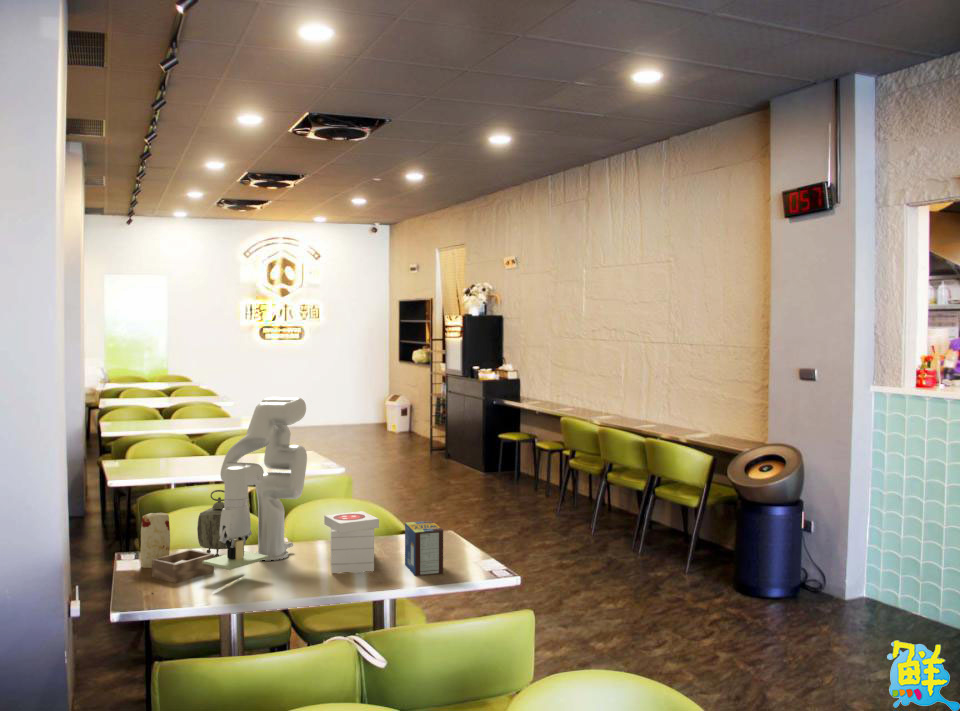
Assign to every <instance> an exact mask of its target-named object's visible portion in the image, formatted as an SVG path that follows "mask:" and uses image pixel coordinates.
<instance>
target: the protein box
mask: <svg viewBox="0 0 960 711" xmlns="http://www.w3.org/2000/svg"><path fill="white" fill-rule="evenodd" d="M404 532H405V533H404V565H405V566H406V567H407V569H408V570H409V569H410V570H409V571H410V572H411V573H412V574H413V575H414V576H415V577H417V576H418V577H420V576H430V575H439V574H444V529H443V528H441V526H439V525H438V524H437V523H435V521H432V520H425V521H423V520H422V521H411V522H405V523H404Z"/></svg>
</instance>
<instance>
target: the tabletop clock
mask: <svg viewBox="0 0 960 711" xmlns="http://www.w3.org/2000/svg"><path fill="white" fill-rule="evenodd" d="M219 492H220V493H223V494H225V489H224V490H223V489H216V490H213V491H212V492H211V493H210V498H211V499H212V501H215V503H214V504H213V505H212V506H211V507H210V508H208V509H206V510H204V511H201V512H200V513H199V516H198V519H197V529H196V530H197V539H198V543H199V547H202V548H204V549H207V550H206V553H211V550H216V553H215V554H214V558H215V557H219V556H220V554H219V550H228V547H226V545H225V544H224V543H222V542H220V541H219V540H220V533H219V532H220V519H221V513H222V509H223V508H224V498H223V499H222V498H221V497H220V496H219V497H217V498H214V497H213V496H212V495H213V494H214V493H219ZM235 539H237V538H235ZM211 554H212V553H211Z"/></svg>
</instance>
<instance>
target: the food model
mask: <svg viewBox="0 0 960 711" xmlns="http://www.w3.org/2000/svg"><path fill="white" fill-rule="evenodd" d="M170 527H171V526H170V516H169V514H168V513H166V512H156V513H155V512H150V513H147V514H145V515H143V516H142V517H141V527H140V558H141V562H140V564H141V565H140V566H141V568H146V569H152V559H156V558H160V557H164V556H167V555H170V551H171V550H170V548H171V528H170Z"/></svg>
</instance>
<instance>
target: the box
mask: <svg viewBox="0 0 960 711" xmlns="http://www.w3.org/2000/svg"><path fill="white" fill-rule="evenodd" d="M212 558H215V554H214V553H207V552H205V551H200V550H196V549H187V550H183V551H180V552H175V553H172V554H169V555H167V556H164V557H160V558H156V559H152V568H151V578H153V579H157V580H161V581H165V582H169V583H174V584H177V583H180V582H184V581H188V580H191V579H193V578H197V577H200V576H204V575H207V574H210V573H213V572H215V567H214V566H212V565H207V564H203V563H202V561H204V560H208V559H212ZM181 560H185V561H184V562H180V563H176V562H178V561H181Z"/></svg>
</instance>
